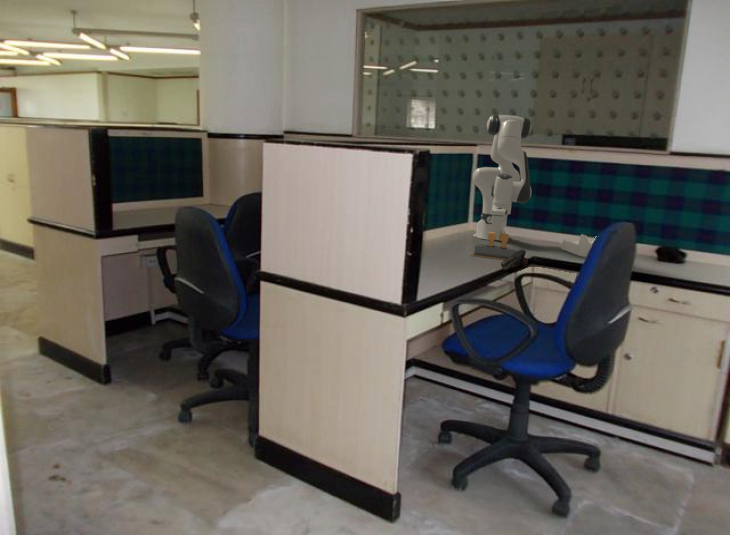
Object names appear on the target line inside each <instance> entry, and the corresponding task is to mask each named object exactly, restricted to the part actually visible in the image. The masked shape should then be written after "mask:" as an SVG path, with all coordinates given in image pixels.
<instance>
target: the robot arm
mask: <svg viewBox="0 0 730 535" xmlns="http://www.w3.org/2000/svg"><path fill="white" fill-rule="evenodd" d="M486 129H487V133H488V134H489V135H491V136H493V140H492V144H491V150H490V158H491V161H493V162H494V163H496V164H498V167H491V166H490V167H488V166H484V167H479V168H478V167H477V168H476V169H475V170H474V172H473V174H472V182H473V184H474V185H475V187H477V188H478V189H479V191H480V193H481V195H482V212H481V214H480V220H478V222H477V225H476V233H474V234H472V236H473V237H474V238H478V239H483V240H488V241H489V239H488V234H489V232H494V233H495V235H496V236H495V239H497V240H496V241H500V240H499V239H500V233H502V234H506V231H505V228H506V227H507V221H508V215H511V211H512V204H513V203H520V204H525V203H527V202H529V200H531V198H532V197H531V196H532V187H531V182H530V180H531V179H530V173H529V172H530V171H529V170H530V169H529V161H528V155H527V152H526V151H524V150H523V148H522V145H521V143H522V139H526V138H528V137H529V134H530V133H531V131H532V122H531V120H530V119H529V118H527V117H524V116H523V117H521V116H517V115H509V114H508V115H507V114H491V115H490V116H489V118H488V119H487V122H486ZM513 164H514V165H516V166H517V167H518V168H519V171H518V170H516V168H515V167H514V165H513ZM512 202H513V203H512Z"/></svg>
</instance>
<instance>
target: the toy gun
mask: <svg viewBox="0 0 730 535" xmlns="http://www.w3.org/2000/svg"><path fill="white" fill-rule="evenodd" d="M526 253H527V251H526V250H525V249H521V248H519V251H518V252H516V253H515V254H513V255H512V256H510V257H509V258H508V259H506V260H502V262H501V263H500V266H501V269H502V270H504V271H508V270H510V268H513V267H519V266H521V267H522V268H526V267H527V265H528V264H529V260H528V258H527V257H525V256H526Z"/></svg>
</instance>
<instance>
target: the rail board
mask: <svg viewBox="0 0 730 535" xmlns="http://www.w3.org/2000/svg"><path fill="white" fill-rule="evenodd" d="M519 250H520V248H518V247H517V248H516V247H509V246H506V248H501V246H499V245H493V247H490V246H489V244H482V243H477V244H474V251H473V252H472V253H471V254H470V257H471V256H472V257H477V258H478V257H479V258H484V259H491V260H492V259H494V260H498V261H499V260H501V261H505V260H506V259H508V258H509V257H510V256H512V255H513V254H515V253H516V252H518V251H519Z"/></svg>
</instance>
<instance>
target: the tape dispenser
mask: <svg viewBox="0 0 730 535" xmlns="http://www.w3.org/2000/svg"><path fill="white" fill-rule="evenodd" d="M596 237H597V236H595V238H596ZM595 238H594V239H593V240H592V241H588V235H586V234H582V233H581V234H580V236H579V241H575V240H568V239H562V243H561V248H560V249H561V250H563V251H566V252H569V253H571V254H574V255H576V256H578V257H584V258H587V257H586V254H587V253H588V251H589V249H590V247H591V245H592V243H593V241H594V240H595Z"/></svg>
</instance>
